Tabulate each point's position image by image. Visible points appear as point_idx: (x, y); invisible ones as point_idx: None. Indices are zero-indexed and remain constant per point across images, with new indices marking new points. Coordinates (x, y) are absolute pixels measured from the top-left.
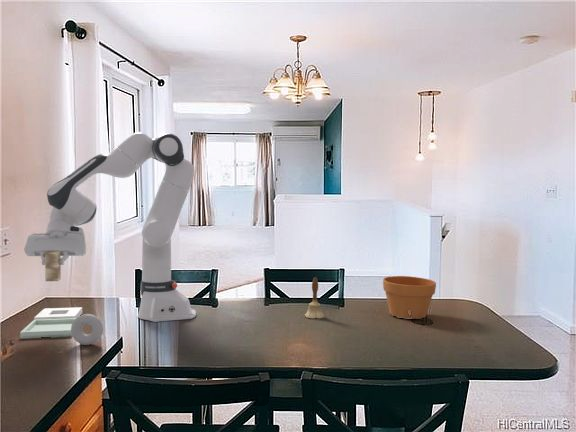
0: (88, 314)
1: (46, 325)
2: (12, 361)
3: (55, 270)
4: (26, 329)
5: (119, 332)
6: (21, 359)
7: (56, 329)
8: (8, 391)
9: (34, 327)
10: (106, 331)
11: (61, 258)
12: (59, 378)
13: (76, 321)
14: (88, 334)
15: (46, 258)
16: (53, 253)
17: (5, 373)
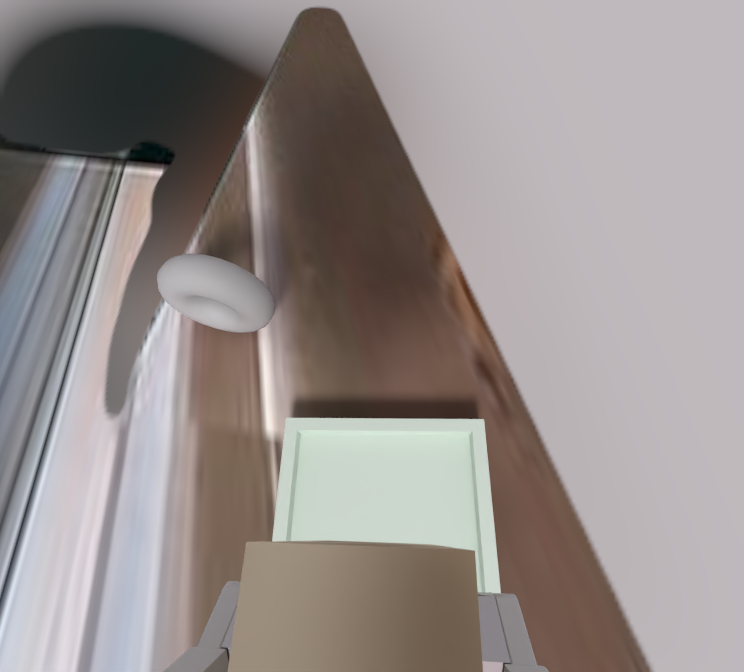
0: (187, 261)
1: None
2: (418, 219)
3: (333, 541)
4: (474, 460)
5: (117, 455)
6: (400, 229)
7: (362, 508)
8: (369, 88)
9: None
10: (163, 480)
11: (228, 643)
12: (288, 125)
13: (241, 268)
14: (220, 304)
15: (440, 547)
16: (323, 547)
17: (406, 156)
